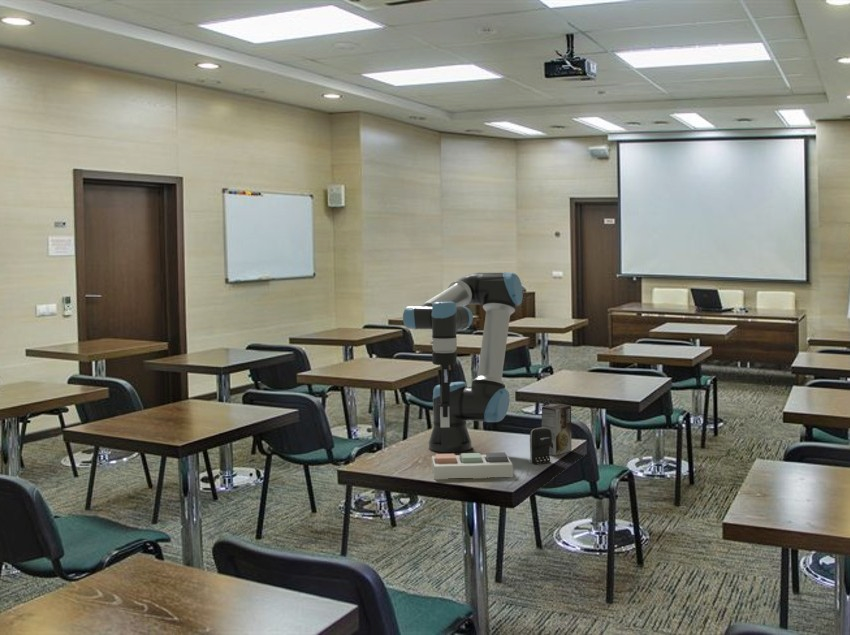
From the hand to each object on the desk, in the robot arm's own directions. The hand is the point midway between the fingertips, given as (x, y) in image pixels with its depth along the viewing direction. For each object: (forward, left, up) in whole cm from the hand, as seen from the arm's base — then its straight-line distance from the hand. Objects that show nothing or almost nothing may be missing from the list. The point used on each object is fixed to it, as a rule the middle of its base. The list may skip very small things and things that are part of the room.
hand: (445, 426), depth 265 cm
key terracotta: (0, 0, -12) cm, 12 cm away
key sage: (0, +8, -12) cm, 15 cm away
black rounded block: (-10, +32, -15) cm, 37 cm away
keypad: (0, +8, -15) cm, 17 cm away
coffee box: (-25, +40, -15) cm, 50 cm away
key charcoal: (0, +16, -12) cm, 20 cm away
